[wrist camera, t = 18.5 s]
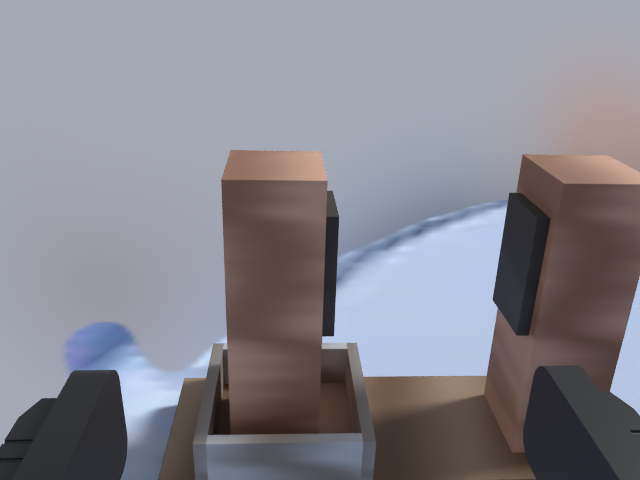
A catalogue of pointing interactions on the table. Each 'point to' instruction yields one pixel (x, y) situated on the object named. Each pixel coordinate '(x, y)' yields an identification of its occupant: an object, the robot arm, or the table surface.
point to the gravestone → (455, 391)
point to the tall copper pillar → (277, 287)
